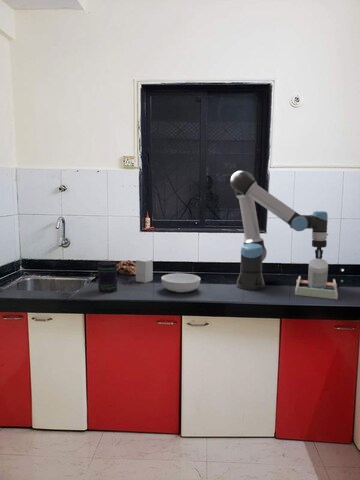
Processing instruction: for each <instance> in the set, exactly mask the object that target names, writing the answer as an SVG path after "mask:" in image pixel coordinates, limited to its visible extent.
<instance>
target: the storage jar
mask: <svg viewBox="0 0 360 480" xmlns="http://www.w3.org/2000/svg"><path fill="white" fill-rule="evenodd" d="M97 273H98V281H97V286H98V293H102V294H112V293H115V292H116V293H117V291H118V279H117V277H118V275H117V274H118V262H117V261H115V260H103V261H98V262H97Z"/></svg>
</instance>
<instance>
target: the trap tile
mask: <svg viewBox="0 0 360 480" xmlns="http://www.w3.org/2000/svg"><path fill="white" fill-rule="evenodd" d="M297 281H298V279H296V281H295V283H296V284H297ZM300 284H303V285H304V284H306V285H308V279H307V280H305V279H300ZM326 287H333V282H330V281H329V282H328V281H327V285H326ZM336 287H338V283H336Z"/></svg>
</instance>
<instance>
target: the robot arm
mask: <svg viewBox="0 0 360 480" xmlns="http://www.w3.org/2000/svg"><path fill="white" fill-rule="evenodd" d="M229 180H230V181H229V183H230V186H231V188H232V189H233V190H234V194H235V197H236V198H237V199H238V201H239V208H240V213H241V219H242V225H243V226H242V227H243V231H244V237H245V239H244V241H243V244H242V245H241V248H240V272H239V275H238V277H237V280H236V287H238V288H239V289H240V290H241V289H242V290H249V291H258V290H263V289H264V288H265V281H264V277H263V273H262V272H263V261H265V259H266V258H267V248H266V246H265V242H264V238H262V237H261V233H260V227H259V220H258V216H257V210H256V209H257V208H256V204H255V203H257V204H259V205H260V206H262V207H263V208H265V209H266V210H268V211H269V212H270V213H272V214H273V215H275V216H276V217H278V218H279V219H280V220H282V221H283V222H284V223H285V224H287V225H288V226H289V228H290V229H293V230H294V231H296V232H303V231H305V230H306V229H307V230H311V239H312V240H311V247H313V248H316V249H315V250H314V253H315V259H323V253H324V250H323V249H322V248H326V247H327V245H328V244H327V243H328V242H327V241H328V240H327V239H328V237H327V236H329V233H328V221H329V219H328V212H327V211H322V210H321V211H320V210H318V211H313V212H312V214H309V215H307V214H301V213H299V212H298V211H295V210H294V209H292V208H291V207H290V206H288V205H287V204H285V203H284V202H283V201H281V200H279V199H278V198H277V197H276V196H274V195H273V194H272V193H270V192H268V191H266V190H265V189H264V188H263V187H261V186H260V185H259V184H258V182H257V181H256V178H255V177H254V175H253V174H252V172H251V173H250V172H249V171H246V170H245V171H244V170H237V171H235V172H234V173H232V175H231V177H230V179H229Z"/></svg>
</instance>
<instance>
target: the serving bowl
mask: <svg viewBox="0 0 360 480" xmlns="http://www.w3.org/2000/svg"><path fill="white" fill-rule="evenodd" d="M160 279H161V284H162V286H163V287H164V288H165V289H166V290H169V291H172V292H174V291H175V292H174V293H187V292H192V291H194V290H196V289H197V288H198V287H199V285H200V284H201V277H200V276H198V275H197V274H193V273H192V274H191V273H179V272H178V273H168V274H165V275H162V276H161V278H160Z"/></svg>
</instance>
